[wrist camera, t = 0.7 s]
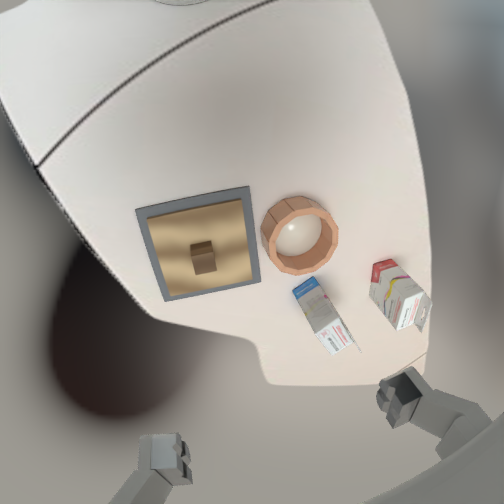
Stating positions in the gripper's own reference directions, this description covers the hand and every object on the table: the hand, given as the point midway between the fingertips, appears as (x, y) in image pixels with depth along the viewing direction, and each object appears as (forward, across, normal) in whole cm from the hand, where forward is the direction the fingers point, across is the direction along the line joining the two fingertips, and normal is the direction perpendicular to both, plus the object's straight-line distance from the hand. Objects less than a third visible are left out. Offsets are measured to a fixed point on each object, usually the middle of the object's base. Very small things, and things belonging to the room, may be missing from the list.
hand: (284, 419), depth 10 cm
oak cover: (+36, +3, +7) cm, 37 cm away
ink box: (+39, -14, +22) cm, 47 cm away
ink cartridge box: (+39, -30, +22) cm, 54 cm away
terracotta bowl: (+37, -12, +7) cm, 39 cm away
